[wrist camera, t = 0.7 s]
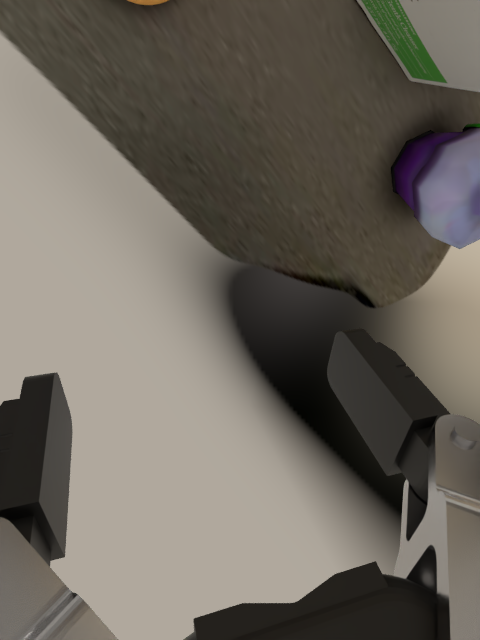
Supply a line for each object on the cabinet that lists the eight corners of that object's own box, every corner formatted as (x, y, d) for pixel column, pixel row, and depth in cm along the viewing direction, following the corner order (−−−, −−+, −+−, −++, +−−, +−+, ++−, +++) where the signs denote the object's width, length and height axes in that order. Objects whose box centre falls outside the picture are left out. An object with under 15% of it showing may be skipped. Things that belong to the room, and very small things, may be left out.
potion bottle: (481, 109, 32) (639, 142, 23) (444, 212, 37) (562, 274, 28) (389, 109, 30) (523, 146, 21) (363, 219, 35) (462, 289, 26)
